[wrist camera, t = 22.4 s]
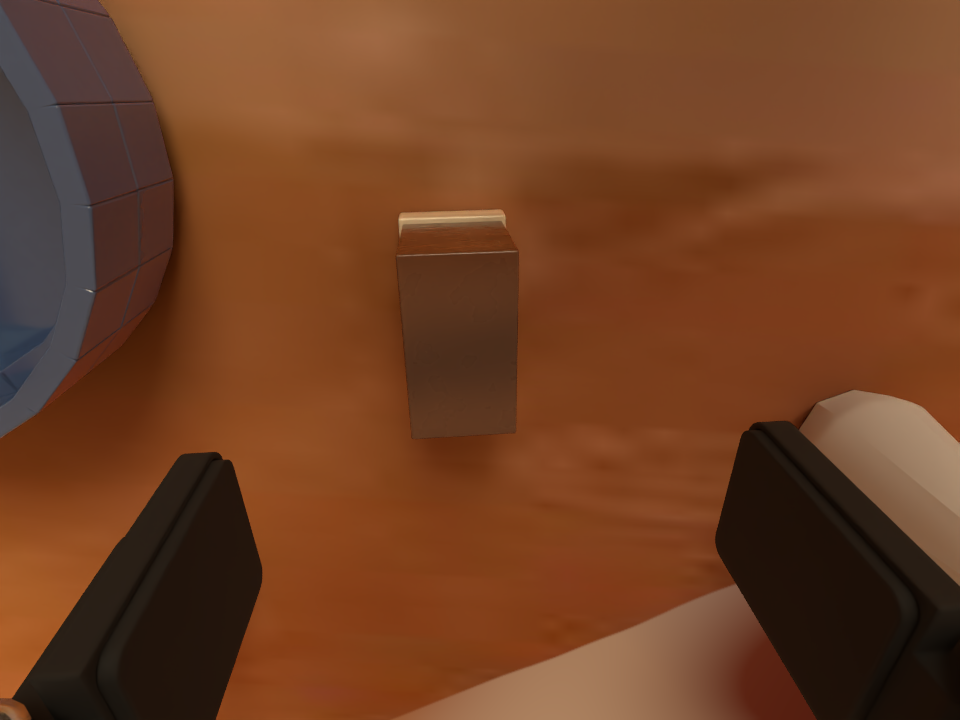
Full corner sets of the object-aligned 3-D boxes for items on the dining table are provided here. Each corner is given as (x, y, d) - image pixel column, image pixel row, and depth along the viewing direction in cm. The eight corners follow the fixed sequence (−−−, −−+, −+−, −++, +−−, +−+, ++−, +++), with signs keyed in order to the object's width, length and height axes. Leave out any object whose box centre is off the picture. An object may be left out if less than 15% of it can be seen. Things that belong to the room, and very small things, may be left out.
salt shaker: (759, 459, 28) (995, 722, 16) (821, 362, 25) (1147, 589, 14) (851, 480, 29) (1132, 740, 17) (918, 391, 27) (1294, 620, 15)
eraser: (399, 211, 21) (389, 248, 16) (502, 208, 21) (524, 243, 16) (412, 372, 24) (407, 444, 19) (502, 368, 24) (520, 437, 19)
